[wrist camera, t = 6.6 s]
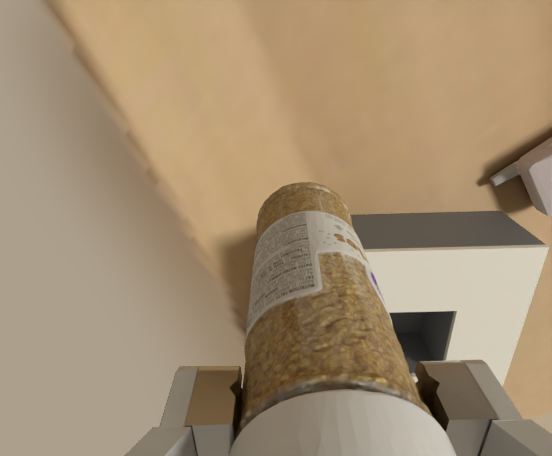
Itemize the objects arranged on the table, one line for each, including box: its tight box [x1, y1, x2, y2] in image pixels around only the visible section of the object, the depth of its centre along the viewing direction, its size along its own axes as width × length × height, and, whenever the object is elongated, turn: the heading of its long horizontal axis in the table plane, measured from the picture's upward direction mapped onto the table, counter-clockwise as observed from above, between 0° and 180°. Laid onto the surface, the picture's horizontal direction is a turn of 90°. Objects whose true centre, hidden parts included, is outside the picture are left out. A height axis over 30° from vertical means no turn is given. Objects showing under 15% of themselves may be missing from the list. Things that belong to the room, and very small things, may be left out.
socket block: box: [350, 211, 549, 387], centre depth 34 cm, size 18×18×6 cm
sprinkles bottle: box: [229, 182, 457, 456], centre depth 12 cm, size 5×5×14 cm
